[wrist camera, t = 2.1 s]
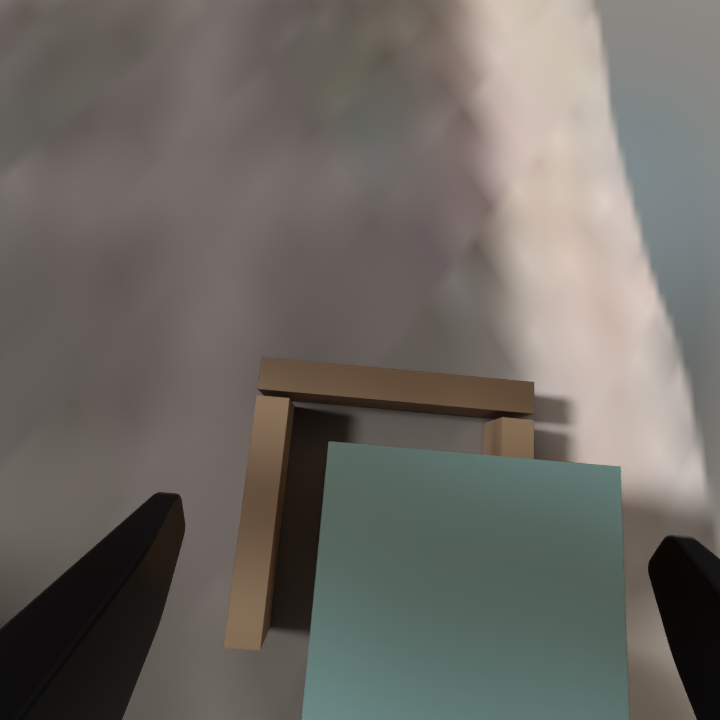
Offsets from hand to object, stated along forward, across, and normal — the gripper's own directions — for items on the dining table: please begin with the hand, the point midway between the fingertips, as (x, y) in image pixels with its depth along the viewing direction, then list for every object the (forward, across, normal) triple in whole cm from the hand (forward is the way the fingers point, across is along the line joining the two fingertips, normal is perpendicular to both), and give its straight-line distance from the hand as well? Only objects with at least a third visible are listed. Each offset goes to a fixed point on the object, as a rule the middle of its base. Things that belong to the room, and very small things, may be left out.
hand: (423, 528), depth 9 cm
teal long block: (+5, 0, +6) cm, 8 cm away
